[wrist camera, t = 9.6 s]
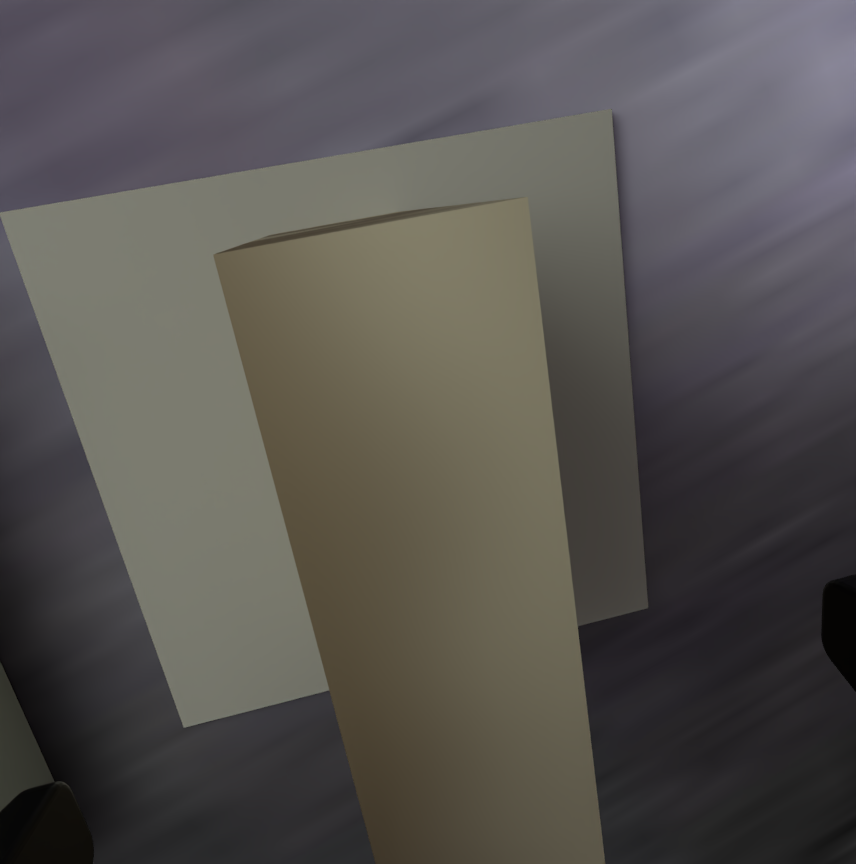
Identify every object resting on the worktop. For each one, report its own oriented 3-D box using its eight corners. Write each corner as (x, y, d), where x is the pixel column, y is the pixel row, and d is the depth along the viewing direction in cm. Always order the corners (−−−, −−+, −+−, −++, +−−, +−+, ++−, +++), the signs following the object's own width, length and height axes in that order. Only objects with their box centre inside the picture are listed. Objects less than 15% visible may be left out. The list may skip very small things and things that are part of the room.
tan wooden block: (396, 211, 16) (528, 197, 6) (466, 607, 19) (618, 971, 10) (269, 234, 16) (213, 253, 6) (364, 633, 19) (421, 1034, 10)
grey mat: (604, 111, 16) (611, 109, 16) (642, 601, 21) (648, 608, 20) (6, 213, 15) (-2, 213, 14) (186, 717, 19) (183, 728, 19)
